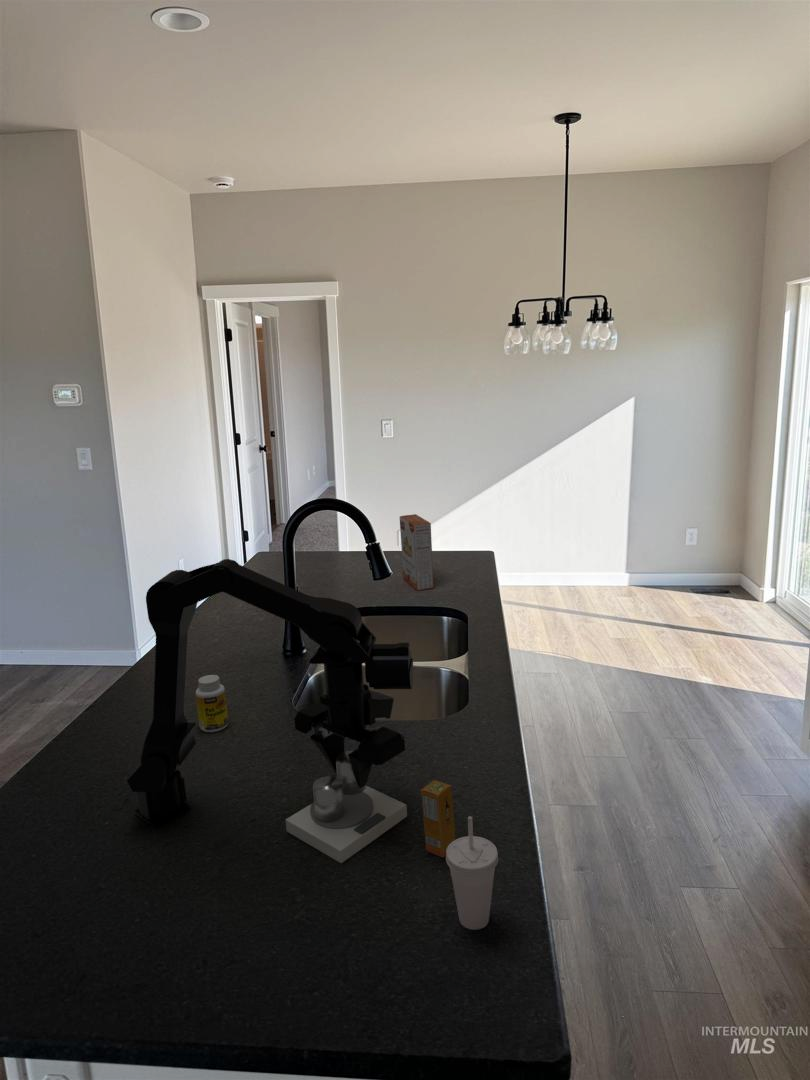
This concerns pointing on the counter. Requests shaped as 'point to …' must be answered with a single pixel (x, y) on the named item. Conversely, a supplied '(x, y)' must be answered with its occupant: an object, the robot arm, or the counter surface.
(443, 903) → the counter surface
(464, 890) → the smoothie
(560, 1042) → the counter surface
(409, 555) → the cracker box
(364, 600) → the counter surface
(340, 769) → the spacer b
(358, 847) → the scale
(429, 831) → the supplement box
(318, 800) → the spacer
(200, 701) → the supplement bottle
